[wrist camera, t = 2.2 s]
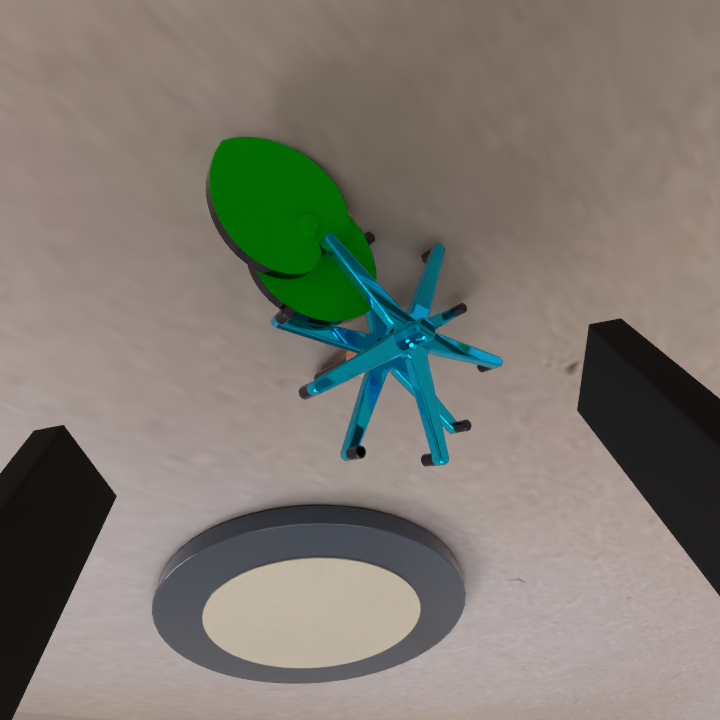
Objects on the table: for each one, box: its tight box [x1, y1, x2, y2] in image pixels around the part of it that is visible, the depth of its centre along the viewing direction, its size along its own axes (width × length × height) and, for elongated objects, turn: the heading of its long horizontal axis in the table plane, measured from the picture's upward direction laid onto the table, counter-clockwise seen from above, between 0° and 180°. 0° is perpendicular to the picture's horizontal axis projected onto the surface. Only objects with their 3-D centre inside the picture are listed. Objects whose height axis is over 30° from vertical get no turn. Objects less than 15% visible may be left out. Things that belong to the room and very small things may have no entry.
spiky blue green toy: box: [206, 137, 503, 467], centre depth 16 cm, size 12×7×8 cm
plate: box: [152, 505, 466, 684], centre depth 29 cm, size 20×20×1 cm
